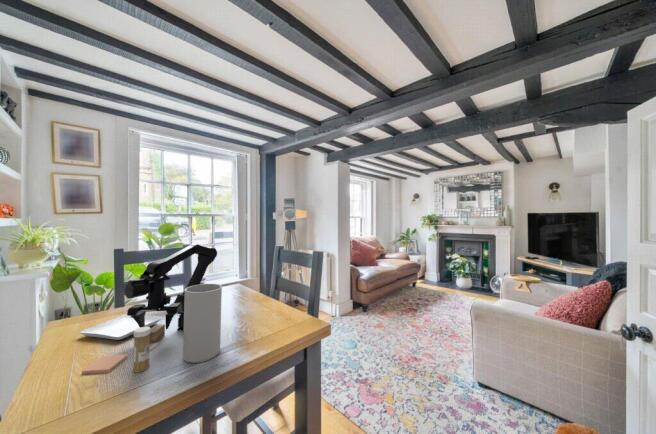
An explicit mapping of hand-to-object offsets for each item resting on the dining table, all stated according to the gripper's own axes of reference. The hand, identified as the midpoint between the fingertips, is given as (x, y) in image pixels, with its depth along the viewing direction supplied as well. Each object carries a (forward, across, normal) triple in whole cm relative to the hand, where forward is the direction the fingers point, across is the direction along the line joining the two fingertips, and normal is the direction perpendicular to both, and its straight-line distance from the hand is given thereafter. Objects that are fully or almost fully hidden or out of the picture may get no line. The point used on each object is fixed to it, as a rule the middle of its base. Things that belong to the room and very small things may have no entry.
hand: (155, 329), depth 103 cm
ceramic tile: (+4, +7, +12) cm, 15 cm away
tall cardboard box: (+5, 0, +2) cm, 5 cm away
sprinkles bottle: (+5, -6, +21) cm, 22 cm away
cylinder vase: (+5, -23, +14) cm, 27 cm away
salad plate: (+5, +19, -12) cm, 23 cm away
